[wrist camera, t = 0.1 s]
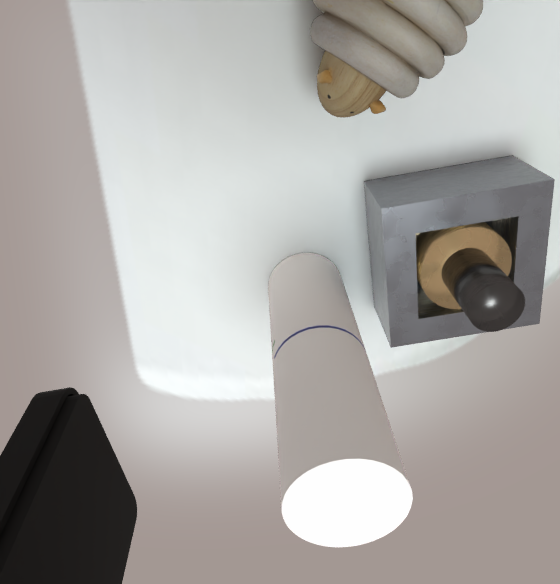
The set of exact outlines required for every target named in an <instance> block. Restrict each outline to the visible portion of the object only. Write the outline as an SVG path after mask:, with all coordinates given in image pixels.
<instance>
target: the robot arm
mask: <svg viewBox="0 0 560 584" xmlns="http://www.w3.org/2000/svg"><path fill="white" fill-rule="evenodd" d="M136 517H137V504H136V500H135V496H134V494H133V492H132V490H131V487H130V485H129V483H128V481H127V479H126V477H125V475H124V472H123V470H122V468H121V466H120V464H119V462H118V459H117V457H116V455H115V453H114V451H113V449H112V446H111V444H110V442H109V440H108V438H107V436H106V433H105V431H104V429H103V427H102V425H101V423H100V421H99V418H98V416H97V414H96V412H95V410H94V408H93V405H92V403H91V401H90V399H89V397H88V396H87V395H85V394H80V395H79V394H78V392H77V391H76V390H75V389H74V388H64V389H59V390H53V391H48V392H41V393H38V394H36V395H35V396H34V397H33V399H32V400H31V402H30V404H29V406H28V407H27V409H26V411H25V413H24V414H23V416H22V418H21V420H20V422H19V423H18V425H17V427H16V429H15V431H14V432H13V434H12V436H11V438H10V439H9V441H8V443H7V445H6V447H5V449H4V451H3V452H2V454H1V455H0V584H122V580H123V576H124V571H125V567H126V562H127V558H128V553H129V549H130V545H131V540H132V536H133V532H134V527H135V523H136Z"/></svg>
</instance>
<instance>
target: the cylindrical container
mask: <svg viewBox="0 0 560 584" xmlns="http://www.w3.org/2000/svg"><path fill="white" fill-rule="evenodd" d="M268 293H269V309H270V326H271V342H272V359H273V375H274V392H275V408H276V425H277V442H278V458H279V474H280V491H281V508H282V514H283V518H284V521H285V523H286V524H287V526H288V527H289V529H290V530H291V531H293V532H294V533H295V534H296V535H297V536H299V537H300V538H302V539H304V540H306V541H308V542H311V543H314V544H318V545H322V546H329V547H350V546H356V545H362V544H365V543H368V542H372V541H374V540H376V539H379V538H381V537H383V536H385V535H386V534H388V533H389V532H391V531H393V530H394V529H395V528H396V527H397V526H399V525H400V524H401V523H402V521H403V520H404V519H405V518H406V517H407V514H408V513H409V511H410V508H411V505H412V499H413V498H412V489H411V487H410V483H409V480H408V477H407V474H406V471H405V468H404V465H403V462H402V459H401V456H400V453H399V450H398V447H397V444H396V441H395V438H394V435H393V432H392V429H391V426H390V423H389V420H388V417H387V414H386V411H385V408H384V405H383V402H382V399H381V396H380V393H379V390H378V387H377V384H376V381H375V378H374V375H373V372H372V369H371V366H370V363H369V360H368V357H367V354H366V351H365V348H364V345H363V342H362V339H361V336H360V332H359V329H358V326H357V323H356V320H355V317H354V314H353V311H352V308H351V305H350V302H349V299H348V296H347V293H346V290H345V287H344V284H343V281H342V278H341V275H340V273H339V270H338V269H337V267H336V266H335V264H334V263H332V262H331V261H330V260H329V259H327V258H326V257H324V256H321V255H319V254H315V253H299V254H294V255H292V256H289V257H287V258H286V259H284V260H282V261H281V262H280V263H279V264H278V265H277V266H276V267H275V268H274V270H273V271H272V273H271V276H270V278H269V283H268Z"/></svg>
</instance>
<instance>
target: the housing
mask: <svg viewBox="0 0 560 584" xmlns="http://www.w3.org/2000/svg"><path fill="white" fill-rule="evenodd" d="M553 189H554V179H553V178H551V177H550V176H548V175H546V174H544V173H543V172H541V171H539V170H537V169H536V168H534V167H532V166H530V165H529V164H527V163H525V162H523V161H521V160H520V159H518V158H516V157H514V156H507V157H501V158H495V159H489V160H484V161H478V162H472V163H466V164H461V165H455V166H449V167H443V168H437V169H432V170H426V171H420V172H414V173H408V174H403V175H397V176H391V177H385V178H379V179H374V180H368V181H364V190H365V202H366V214H367V226H368V238H369V250H370V262H371V274H372V286H373V298H374V307H375V310H376V312H377V315H378V317H379V320H380V322H381V325H382V327H383V329H384V332H385V334H386V337H387V339H388V342H389V344H390V347H397V346H403V345H409V344H415V343H422V342H428V341H434V340H440V339H447V338H453V337H459V336H465V335H471V334H478V333H484V332H487V331H482V330H480V329H478V328H476V327H475V326H474V325H473V324H472V323H471V321H470V320H469V318H468V317H467V316H466V314H465V313H464V311H463V310H462V309H449V308H445V307H442V306H439V305H437V304H436V303H434V302H433V301H431V300H430V299H429V298H428V296H427V295H426V294H425V292H424V290H423V289H422V287H421V285H420V284H419V282H418V281H417V264H416V233H421V232H427V231H433V230H439V229H445V228H451V227H457V226H463V225H469V224H475V223H481V222H486V223H487V224H488V225H489V226H490V227H491V228H492V229H493V230H494V231H495V232H497V233H498V234H499V235H500V236H501V237H502V238H503V239H504V240H505V241H506V243H507V244H508V246H509V249H510V252H511V257H512V264H511V269H510V273H509V275H508V277H509V278H510V279H511V280H512V281H513V282H514V284H515V285H516V286H517V287H518V288H519V289H520V290H521V291H522V292H523V294H524V297H525V307H524V310H523V312H522V314H521V316H520V317H519V318H518V320H517V321H516V322H514V323H513V324H512V325H510V326H509V327H507V328H505V329H509V328H515V327H521V326H527V325H533V324H539V322H540V312H541V302H542V294H543V284H544V274H545V265H546V255H547V246H548V236H549V227H550V217H551V208H552V198H553ZM502 330H503V329H502Z"/></svg>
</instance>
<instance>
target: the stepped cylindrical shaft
mask: <svg viewBox="0 0 560 584" xmlns="http://www.w3.org/2000/svg"><path fill="white" fill-rule="evenodd" d="M416 264H417V281H418V282H419V284H420V285H421V287H422V289H423V290H424V292H425V294H426V295H427V296H428V298H429V299H430V300H431V301H433V302H434V303H436V304H437V305H439V306H442V307H445V308H449V309H462V310H463V311H464V313H465V314H466V316H467V317H468V318H469V320H470V321H471V323H472V324H473V325H474V326H475V327H476V328H478V329H480V330H482V331H487V332H494V331H499V330H502V329H505V328H507V327H509V326H510V325H512V324H513V323H514V322H516V321H517V320H518V318H519V317H520V316H521V314H522V312H523V310H524V307H525V297H524V294H523V292H522V291H521V290H520V289H519V288H518V287H517V286H516V285H515V284H514V282H513V281H512V280H511V279H510V278H509V277H508V275H509V273H510V269H511V264H512V257H511V252H510V249H509V246H508V244H507V243H506V241H505V240H504V239H503V238H502V237H501V236H500V235H499V234H498V233H497V232H495V231H494V230H493V229H492V228H491V227H490V226H489V225H488V224H487V223H486V222H481V223H475V224H469V225H463V226H457V227H451V228H445V229H439V230H433V231H427V232H421V233H416Z"/></svg>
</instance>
